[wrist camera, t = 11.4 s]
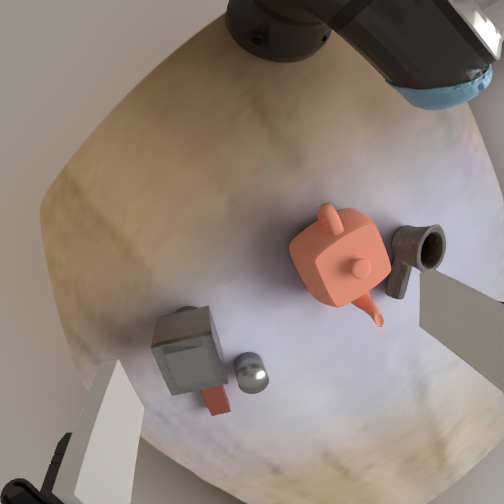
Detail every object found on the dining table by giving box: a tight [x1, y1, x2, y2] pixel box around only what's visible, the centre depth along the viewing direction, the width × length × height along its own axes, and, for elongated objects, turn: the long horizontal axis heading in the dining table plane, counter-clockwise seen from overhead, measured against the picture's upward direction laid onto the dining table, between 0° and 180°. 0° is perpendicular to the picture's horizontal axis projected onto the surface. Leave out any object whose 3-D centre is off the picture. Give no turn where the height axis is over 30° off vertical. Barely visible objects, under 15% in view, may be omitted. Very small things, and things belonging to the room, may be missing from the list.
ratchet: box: [174, 306, 231, 416], centre depth 42 cm, size 19×6×7 cm, turn 12°
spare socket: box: [234, 352, 269, 394], centre depth 44 cm, size 4×4×5 cm
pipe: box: [385, 224, 446, 299], centre depth 43 cm, size 6×13×8 cm, turn 168°
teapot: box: [289, 203, 391, 327], centre depth 40 cm, size 12×18×10 cm, turn 29°
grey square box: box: [151, 306, 228, 395], centre depth 37 cm, size 7×7×8 cm
